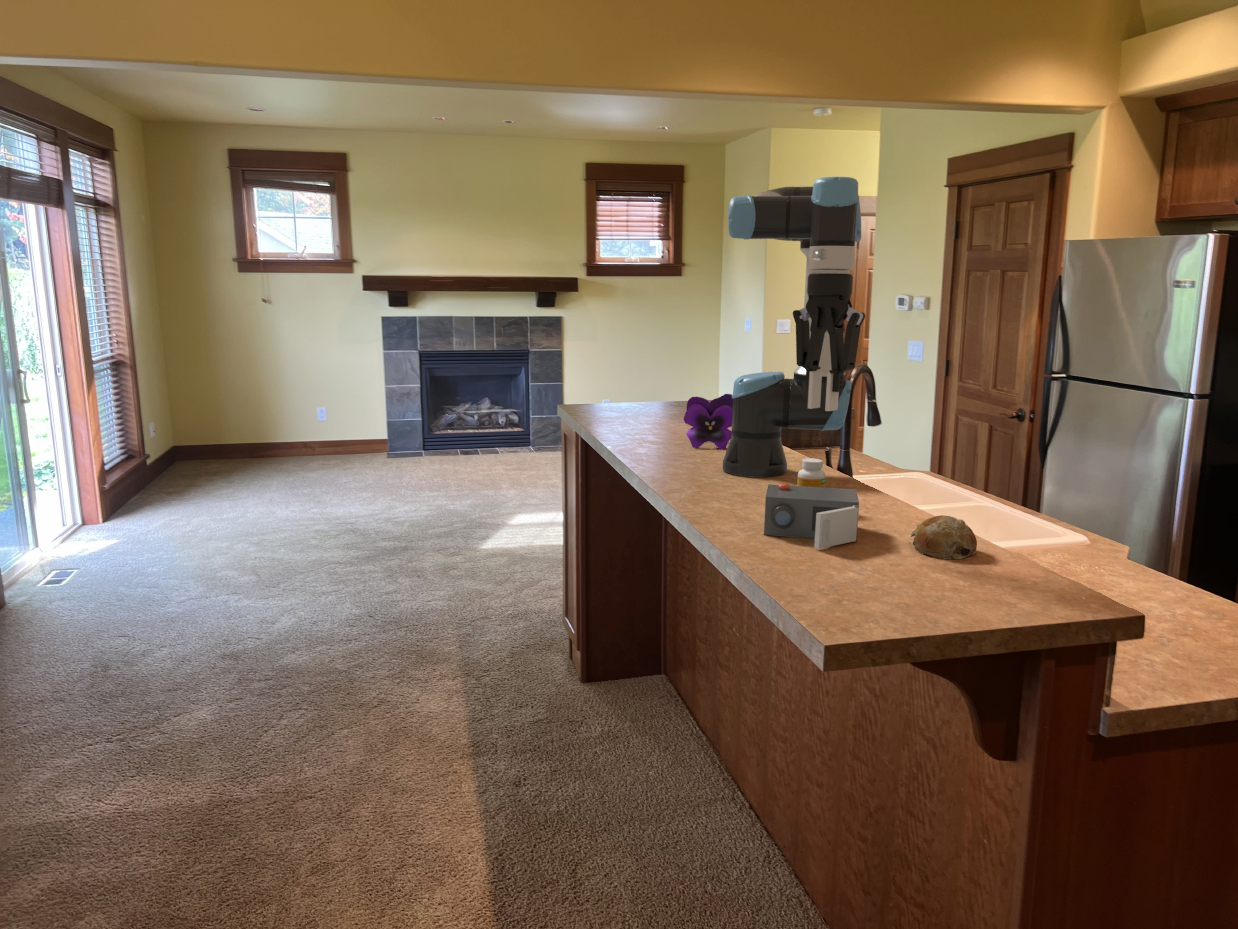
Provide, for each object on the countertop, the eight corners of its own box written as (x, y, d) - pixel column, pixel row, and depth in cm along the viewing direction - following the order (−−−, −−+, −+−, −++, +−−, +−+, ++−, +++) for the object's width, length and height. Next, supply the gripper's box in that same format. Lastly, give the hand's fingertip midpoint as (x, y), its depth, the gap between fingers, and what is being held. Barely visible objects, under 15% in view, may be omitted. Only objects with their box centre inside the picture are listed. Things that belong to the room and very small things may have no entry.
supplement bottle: (823, 511, 175) (826, 463, 173) (796, 510, 176) (798, 462, 174) (823, 505, 180) (826, 458, 178) (796, 503, 182) (798, 456, 180)
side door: (814, 548, 151) (816, 511, 149) (853, 540, 156) (855, 504, 154) (821, 550, 149) (823, 514, 148) (860, 542, 154) (862, 506, 153)
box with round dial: (766, 520, 169) (768, 480, 167) (853, 526, 165) (856, 485, 164) (763, 537, 157) (765, 494, 156) (856, 543, 154) (859, 500, 153)
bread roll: (933, 581, 147) (953, 544, 142) (894, 541, 154) (912, 505, 149) (975, 572, 151) (996, 537, 147) (935, 534, 158) (954, 498, 154)
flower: (684, 459, 250) (680, 444, 237) (688, 409, 254) (684, 392, 241) (736, 461, 248) (735, 447, 235) (739, 410, 252) (738, 394, 239)
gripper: (779, 271, 155) (772, 405, 160) (859, 272, 143) (850, 416, 148) (804, 272, 160) (797, 402, 165) (884, 272, 148) (874, 412, 153)
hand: (822, 408), depth 156 cm, fingers open, 3 cm apart
